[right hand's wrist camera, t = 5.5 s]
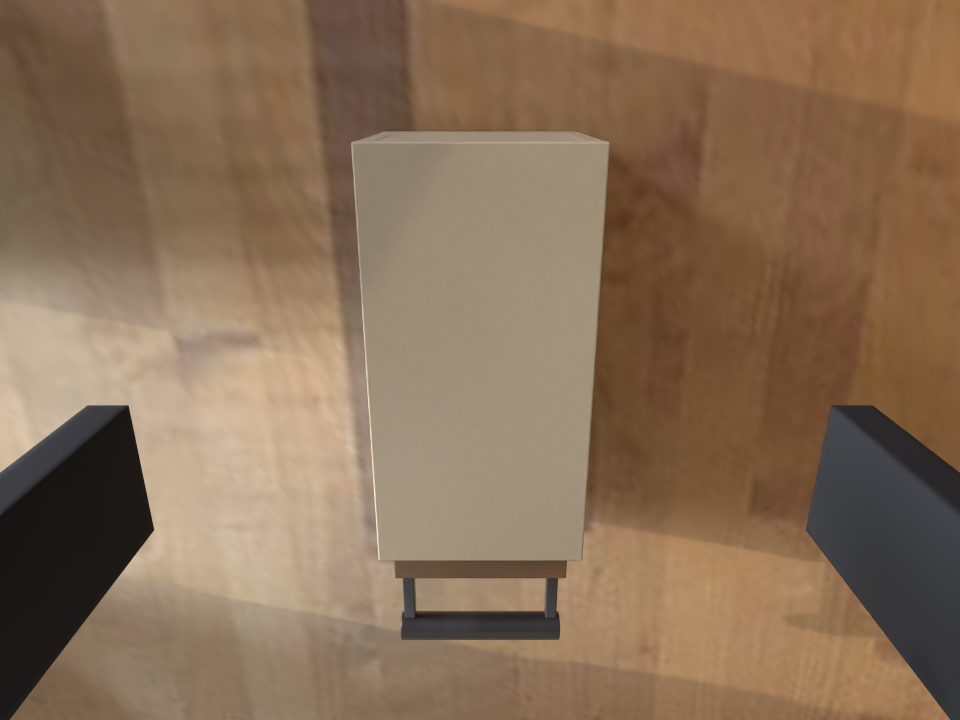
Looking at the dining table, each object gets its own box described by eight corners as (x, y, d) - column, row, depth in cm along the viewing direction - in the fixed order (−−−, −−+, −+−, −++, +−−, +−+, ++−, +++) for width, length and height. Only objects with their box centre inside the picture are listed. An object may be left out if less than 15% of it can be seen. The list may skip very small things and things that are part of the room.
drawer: (548, 573, 43) (562, 663, 36) (411, 573, 43) (398, 664, 36) (566, 192, 35) (587, 216, 28) (394, 192, 35) (373, 216, 28)
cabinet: (560, 464, 41) (582, 561, 33) (400, 464, 41) (378, 561, 33) (577, 131, 34) (610, 141, 26) (383, 131, 34) (350, 142, 26)
